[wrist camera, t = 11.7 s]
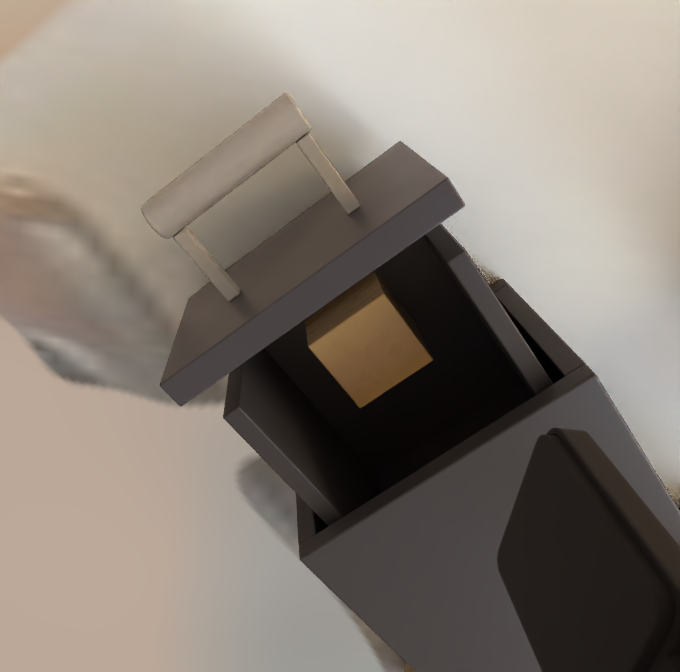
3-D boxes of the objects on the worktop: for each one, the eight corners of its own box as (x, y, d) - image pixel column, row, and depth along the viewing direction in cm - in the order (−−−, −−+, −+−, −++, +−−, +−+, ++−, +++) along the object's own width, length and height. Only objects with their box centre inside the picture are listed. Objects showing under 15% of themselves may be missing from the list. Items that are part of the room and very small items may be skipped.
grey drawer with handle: (115, 217, 30) (55, 283, 22) (336, 42, 28) (362, 42, 19) (357, 485, 37) (380, 607, 29) (546, 364, 35) (628, 460, 27)
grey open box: (292, 420, 36) (298, 560, 26) (502, 277, 34) (595, 373, 24) (438, 581, 42) (488, 743, 32) (626, 470, 40) (740, 609, 30)
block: (303, 311, 31) (307, 346, 28) (370, 263, 31) (383, 293, 27) (350, 368, 33) (360, 409, 29) (416, 324, 32) (434, 360, 28)
